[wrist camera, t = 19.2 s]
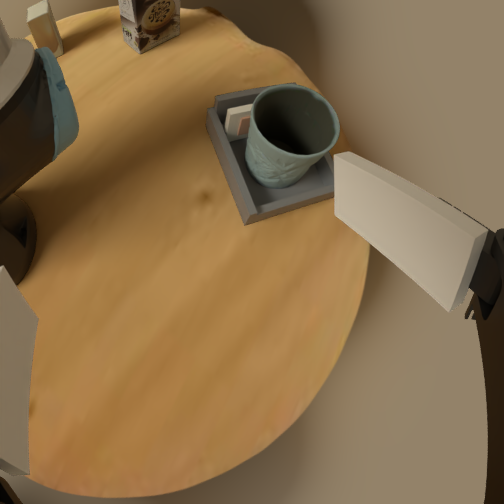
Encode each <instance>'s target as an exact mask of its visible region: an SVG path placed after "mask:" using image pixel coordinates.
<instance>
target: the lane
mask: <svg viewBox="0 0 504 504" xmlns="http://www.w3.org/2000/svg"><path fill="white" fill-rule="evenodd" d="M287 84H295V85H297V84H296V83H287ZM273 86H275V85H273ZM269 87H272V86H267V87H260V88H254V89H249V90H243V91H238V92H233V93H228V94H223V95H218V96H215V104H214V107H212V108H207V118H206V128H207V130H208V133H209V135H210V138H211V141H212V143H213V146H214V148H215V151H216V153H217V156H218V159H219V161H220V164H221V166H222V169H223V172H224V174H225V177H226V179H227V182H228V184H229V187H230V190H231V192H232V195H233V197H234V200H235V202H236V205H237V208H238V210H239V213H240V215H241V218H242V221H243V223H244V226H245V225H248V224H251V223H254V222H257V221H260V220H263V219H266V218H270V217H273V216H276V215H279V214H282V213H285V212H288V211H291V210H294V209H298V208H301V207H304V206H307V205H310V204H313V203H317V202H320V201H323V200H326V199H330V198H333V197H334V196H335V195H334V161H333V159H332V157H331V155H330V153H329V151H328V152H327V153H326V154H325V155H324V156H323V157H321V158H320V159H319V160H318V161H317V162H316V163H314V164H313V165H311V166H310V167H309V169H308V170H307V171H306V173H305V174H304V175H303V176H302V177H301V178H300V179H299V180H298V181H297V182H296V183H294V184H293V185H291V186H289V187H286V188H282V189H272V188H267V187H265V186H262V185H261V184H259V183H257V182H256V181H255V180H254V179H253V178H252V177H251V176H250V174H249V173H248V170H247V168H246V165H245V151H246V146H247V139H248V137H247V138H243V139H239V140H235V141H231V142H229V141H228V139H227V136H226V134H225V132H224V127H225V121H226V116H227V110H228V109H229V108H234V107H239V106H244V105H249V104H253V103H254V101H255V99H256V97H257V96H258V95H259V94H260V93H261V92H262V91H264V90H265V89H267V88H269Z"/></svg>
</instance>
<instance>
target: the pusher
mask: <svg viewBox="0 0 504 504" xmlns="http://www.w3.org/2000/svg"><path fill="white" fill-rule="evenodd" d="M252 105H253V104H249V105H244V106H239V107H234V108H229V109H228V110H227V116H226V121H225V127H224V132H225V134H226V136H227V139H228V141H229V142H231V141H235V140H239V139H243V138H247V137H248V132H249V127H250V116H251V108H252Z"/></svg>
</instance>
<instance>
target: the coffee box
mask: <svg viewBox="0 0 504 504" xmlns="http://www.w3.org/2000/svg"><path fill="white" fill-rule="evenodd" d="M119 8H120V16H121V23H122V30H123V37H124V41H125V42H126V43H127V44H128V45H129V46H131V47H132V48H133V49H134V50H135V51H136V52H138V53H139V54H141V53H143V52H145V51H147V50H149V49H151V48H153V47H155V46H157V45H159V44H161V43H163V42H165V41H167V40H169V39H171V38H173V37H175V36H177V35H179V34H180V0H119Z"/></svg>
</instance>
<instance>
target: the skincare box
mask: <svg viewBox="0 0 504 504" xmlns="http://www.w3.org/2000/svg"><path fill="white" fill-rule="evenodd" d="M27 24H28V26H29V29H30V31H31V33H32V36H33V38H34V40H35V43H36V45H37V47H38V48H42V47H48V48H49V49H50V50H51V51H52V52H53V54H54V56H55V57H56V58H57V57H59V56H61V55H63V45H62V40H61V37H60V34H59V31H58V28H57V25H56V22H55V19H54V16H53V13H52V10H51V7H50V4H49V2H48V0H44V1H42V2H39V3H37V4H35V5H33V6H31V7H29V8H28V10H27Z"/></svg>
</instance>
